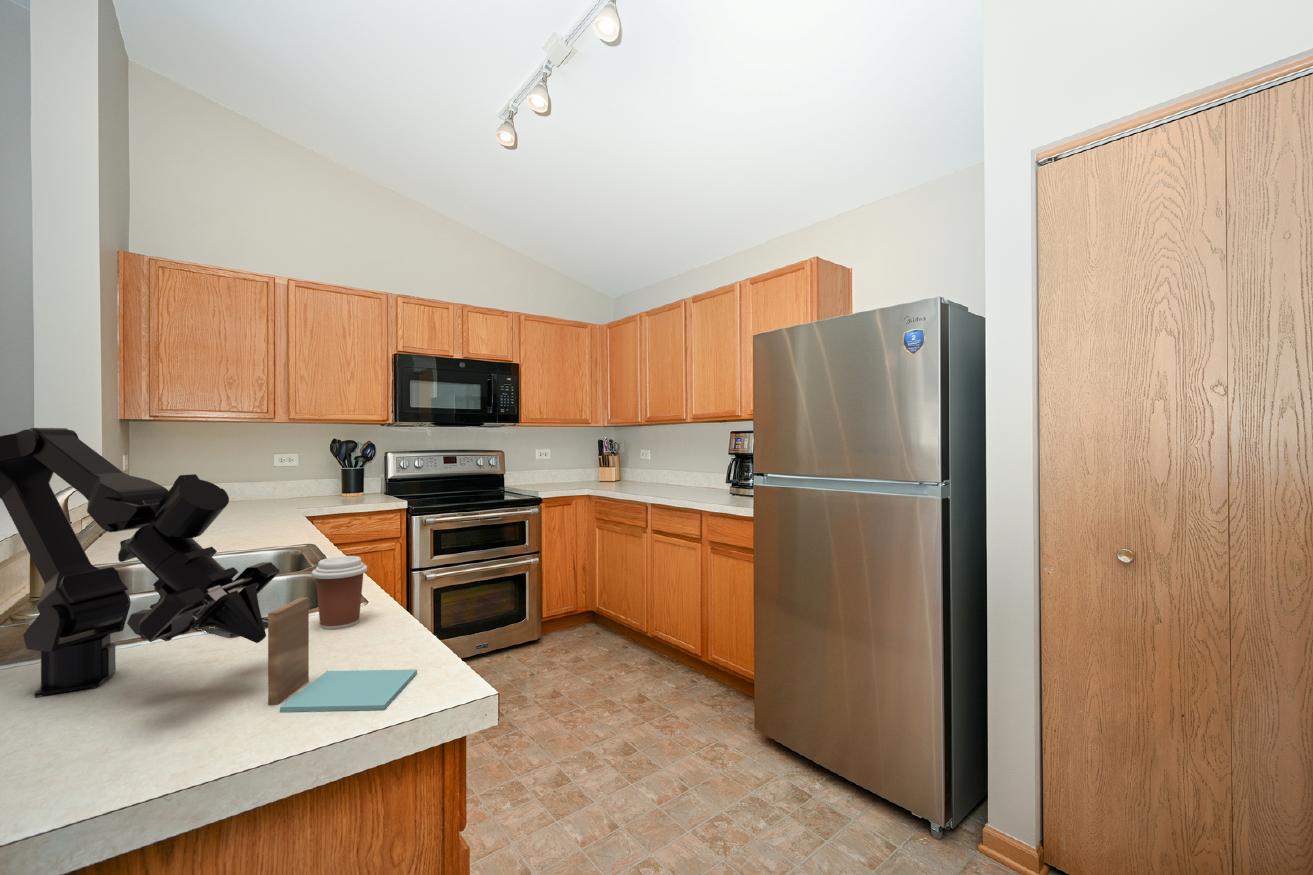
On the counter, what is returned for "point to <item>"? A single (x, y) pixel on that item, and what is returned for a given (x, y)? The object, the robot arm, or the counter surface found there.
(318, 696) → the mat
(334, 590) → the coffee cup
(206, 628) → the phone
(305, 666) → the walnut tile
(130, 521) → the robot arm
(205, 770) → the counter surface
